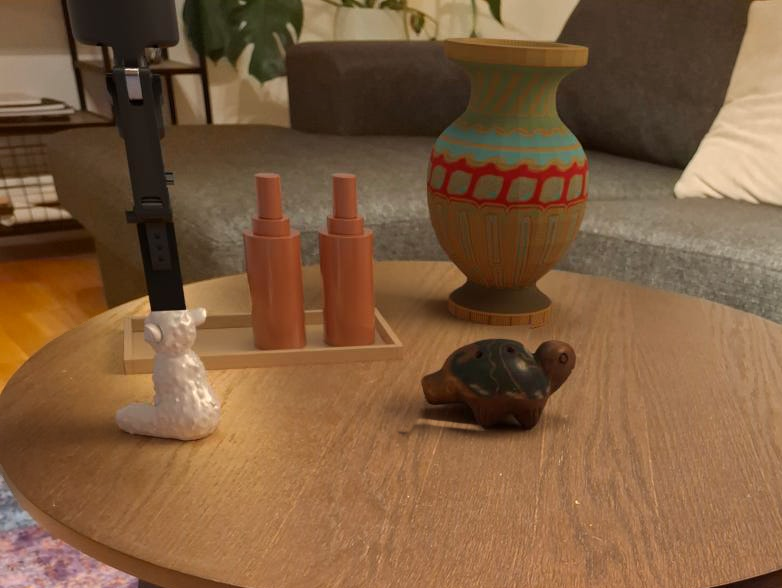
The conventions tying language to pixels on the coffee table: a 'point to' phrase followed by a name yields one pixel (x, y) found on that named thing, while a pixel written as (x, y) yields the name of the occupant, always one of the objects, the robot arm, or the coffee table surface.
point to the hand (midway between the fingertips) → (166, 287)
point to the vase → (508, 179)
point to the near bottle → (274, 271)
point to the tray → (236, 347)
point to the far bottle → (346, 270)
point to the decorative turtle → (501, 379)
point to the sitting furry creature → (174, 382)
